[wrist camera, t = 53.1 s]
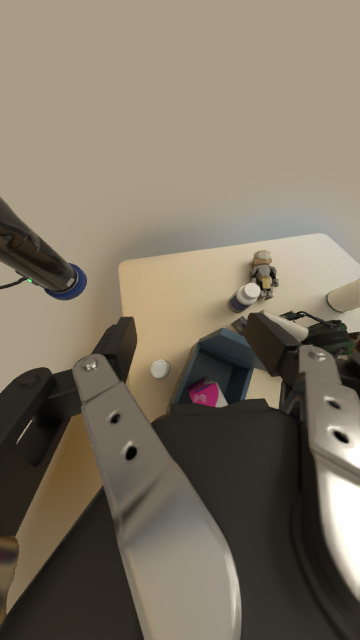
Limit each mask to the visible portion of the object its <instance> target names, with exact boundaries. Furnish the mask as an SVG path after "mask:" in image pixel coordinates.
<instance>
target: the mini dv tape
mask: <svg viewBox="0 0 360 640" xmlns="http://www.w3.org/2000/svg"><path fill="white" fill-rule="evenodd" d="M246 323H247V320H246V319H245V318H244V317H243V316H242V317H240V318H239V319H237V320H236V321H234V322H233V323H232V324H231V325H232V326H233V327H234V328H235V329H236V330H237V331H238V332H239V333H240V335H242V336H244V331H245V327H246Z"/></svg>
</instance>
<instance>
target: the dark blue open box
mask: <svg viewBox="0 0 360 640" xmlns="http://www.w3.org/2000/svg"><path fill="white" fill-rule="evenodd" d="M198 342H199V341H198ZM198 342H197V343H196V344H195V345H194V346H193V347H192V349H191V352H190V354H189V357H188V359H187V361H186V364H185V366H184V369H183V371H182V373H181V376H180V378H179V381H178V383H177V385H176V388H175V390H174V393H173V395H172V397H171V400H170V402H169V405H168V407H167V413H169V412H170V404H181V403H193V402H192V399H191V397H190V395H189V392H188V390H187V387H188V386H190V385H192V384H194V383H196V382H198V381H200V380H202V379H203V378H205V377H206V378H208V379H210V380H212V381H214V382H217V384H218V386H219V388H220V390H221V392H222V394H223V396H224V398H225V400H226V402H227V404H228V405H229V404H232V403H235V402H237V401H240V400H245V397H246V394H247V390H248V387H249V383H250V380H251V377H252V373H253V370H254V367H251V366H249V365H247V364H245V363H242V362H240V361H238V360H236V359H233V358H231V357H229V356H227V355H224V354H222V353H220V352H218V351H215V350H213V349H211V348H209V347H207V346H204V345H202V344H200V343H198Z"/></svg>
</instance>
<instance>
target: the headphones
mask: <svg viewBox="0 0 360 640" xmlns="http://www.w3.org/2000/svg"><path fill="white" fill-rule="evenodd" d="M300 313H304V314H306V315H304V314H300ZM304 316H308V317H310V318H312V319H314V320H316V321H318V322H320V323H318V324H315V325H313V326H311V327H309V328H307V329H308V335H307V337H306V338H305V339H304V340H303V341H301V344H303V345H312V346H316V347H319V348H321V349H323V350H325V351H327V352H328V353H330V354H331V355H333V357H334V358H337V357H338V356H339V355H350V354H352V353H353V350H352V348H353V347H355V346H356V345H355V343H354V341H352V340H351V339H350V336H349V334H348V332H347V331H346V329H347V327H346V325H345V324H344V323H341V320H330V321H324V320H321V319H319V318H317V317H314V316H312V315H310V314H308V313H306V312H304V311H300V312H297V313H292V311H290V312H287V313H285V314H282V315H280V316H279V317H282V318H284V319H287V320H289V321H291V320H293V321H294V319H295V320H297V319H299V318H300V317H301V318H302V317H304ZM294 323H295V321H294Z"/></svg>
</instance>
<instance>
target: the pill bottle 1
mask: <svg viewBox="0 0 360 640" xmlns="http://www.w3.org/2000/svg"><path fill="white" fill-rule="evenodd" d="M169 370H170V367H169V364H168V362H167V361H165V360H162V359H159V360H156V361H154V362H153V363H152V365H151V368H150V371H151V374H152V376H153V377H154V378H157V379H162V378H164V377H165V376H167V374H168V372H169Z"/></svg>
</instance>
